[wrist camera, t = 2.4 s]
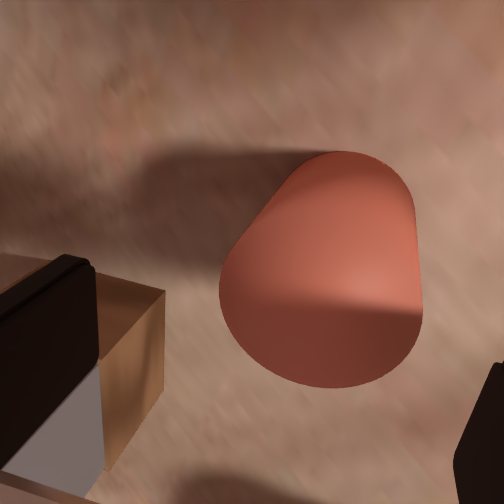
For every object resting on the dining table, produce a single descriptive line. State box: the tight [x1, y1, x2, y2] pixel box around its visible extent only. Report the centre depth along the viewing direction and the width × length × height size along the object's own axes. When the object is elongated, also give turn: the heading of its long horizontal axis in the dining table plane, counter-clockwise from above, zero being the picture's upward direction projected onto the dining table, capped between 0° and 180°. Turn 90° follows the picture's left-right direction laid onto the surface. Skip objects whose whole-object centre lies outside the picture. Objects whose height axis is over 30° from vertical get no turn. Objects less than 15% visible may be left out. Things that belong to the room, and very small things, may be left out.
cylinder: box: [219, 151, 423, 388], centre depth 14 cm, size 5×5×6 cm
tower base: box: [0, 260, 165, 472], centre depth 20 cm, size 6×6×5 cm
